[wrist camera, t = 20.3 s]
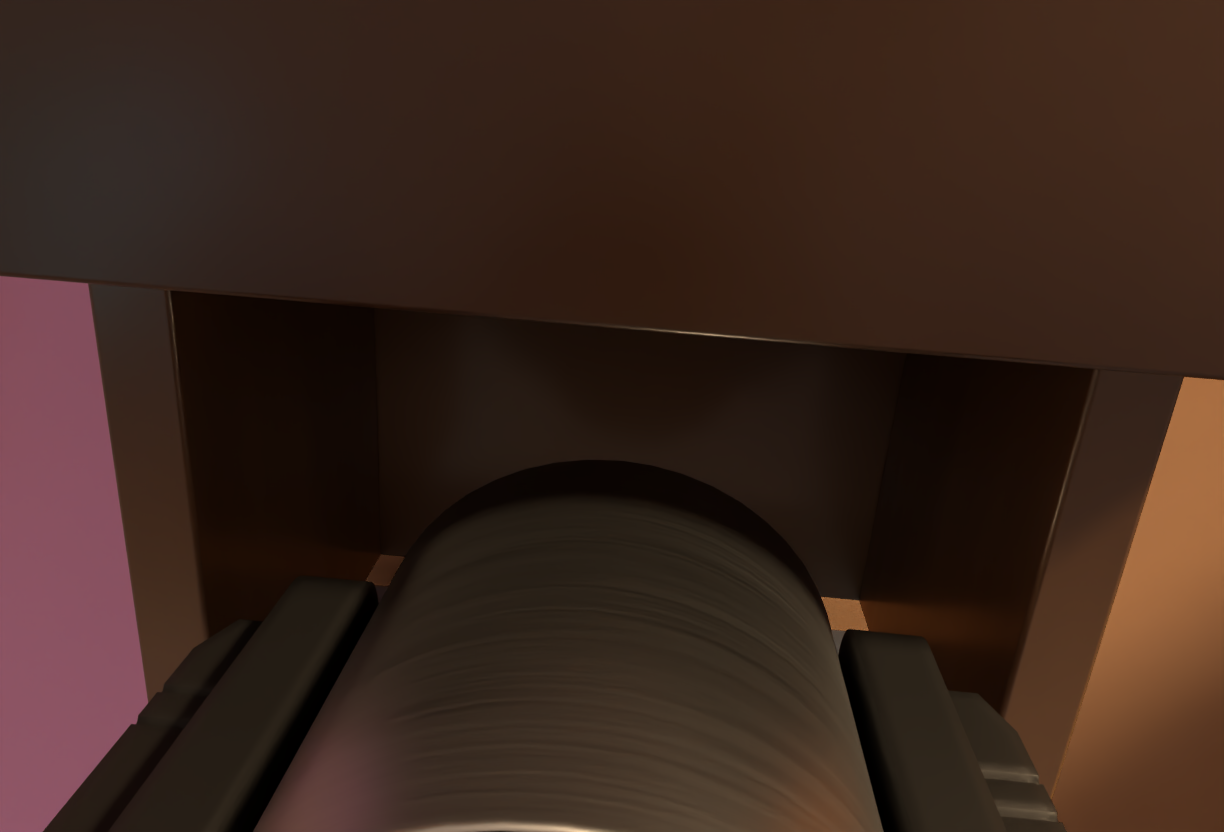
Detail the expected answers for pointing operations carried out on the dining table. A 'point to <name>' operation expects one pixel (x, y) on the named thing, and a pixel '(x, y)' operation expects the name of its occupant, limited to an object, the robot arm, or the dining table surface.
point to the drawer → (634, 432)
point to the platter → (58, 558)
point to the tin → (588, 674)
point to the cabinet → (644, 165)
